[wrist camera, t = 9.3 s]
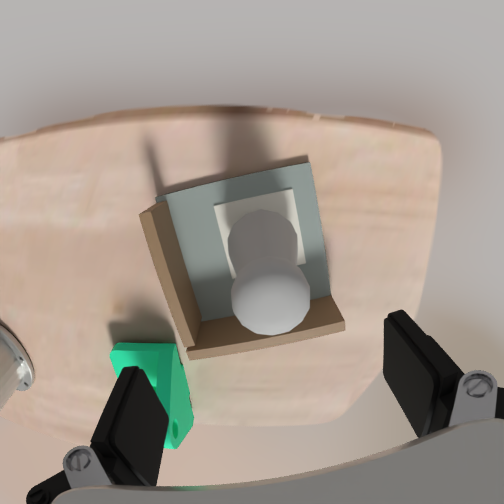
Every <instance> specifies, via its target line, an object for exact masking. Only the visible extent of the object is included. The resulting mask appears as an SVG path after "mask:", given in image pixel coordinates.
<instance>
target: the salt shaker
mask: <svg viewBox="0 0 504 504" xmlns="http://www.w3.org/2000/svg"><path fill="white" fill-rule="evenodd" d="M227 241H228V255H229V257H230V260H231V263H232V265H233V268H234V271H235V273H236V278H235V281H234V283H233V286H232V289H231V298H232V308H233V312H234V314H235V315H236V317H237V318H238V320H239V321H240V322H241V324H242V325H243V326H244V327H246V328H248V329H249V330H251V331H253V332H254V333H256V334H264V335H277V334H281V333H285V332H289V331H290V330H292V329H293V328H294V327H296V326H297V325H298V324H299V323H301V322H302V321H303V319H304V317H305V315H306V314H307V312H308V310H309V308H310V286H309V284H308V282H307V280H306V278H305V276H304V274H303V272H302V271H301V269H300V268H299V267H298V266H297V257H298V237H297V234H296V231H295V229H294V227H293V225H292V223H291V221H289V220H288V219H286V218H285V217H283V216H282V215H280V214H279V213H277V212H273V211H268V210H263V209H260V210H257V211H253V212H250V213H247V214H245V215H244V216H243V217H241V218H240V219H239V220H238V221H237V222H236V223H234V224H233V226H232V229H231V231H230V234H229V236H228V239H227Z"/></svg>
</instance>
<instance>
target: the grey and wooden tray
mask: <svg viewBox="0 0 504 504" xmlns="http://www.w3.org/2000/svg"><path fill="white" fill-rule="evenodd" d="M155 199H156V202H157V203H156V204H154V205H153V206H151V207H150V208H148V209H147V210H145V211H143V212H142V213H140V214H139V217H140V221H141V224H142V227H143V231H144V234H145V237H146V241H147V244H148V247H149V250H150V253H151V256H152V259H153V263H154V266H155V269H156V272H157V275H158V277H159V280H160V283H161V286H162V289H163V292H164V295H165V298H166V300H167V303H168V306H169V309H170V311H171V314H172V317H173V319H174V322H175V325H176V327H177V330H178V332H179V335H180V338H181V340H182V343H183V345H184V347H187V350H186V353H187V355H188V357H189V360H196V359H203V358H210V357H217V356H223V355H229V354H235V353H241V352H247V351H252V350H258V349H263V348H268V347H274V346H279V345H284V344H288V343H293V342H298V341H302V340H307V339H311V338H316V337H320V336H324V335H329V334H333V333H337V332H341V331H345V320H344V319H343V317H342V315H341V313H340V311H339V309H338V307H337V305H336V304H335V302H334V300H333V298H332V296H331V291H330V283H329V275H328V268H327V260H326V253H325V246H324V240H323V233H322V227H321V220H320V214H319V208H318V203H317V197H316V191H315V186H314V180H313V175H312V169H311V164H310V162H307V163H301V164H296V165H291V166H286V167H280V168H275V169H271V170H266V171H261V172H256V173H252V174H247V175H242V176H238V177H233V178H229V179H225V180H221V181H216V182H212V183H208V184H204V185H200V186H196V187H192V188H188V189H184V190H180V191H176V192H173V193H169V194H165V195H161V196H158V197H156V198H155ZM260 209H263V210H268V211H273V212H277V213H279V214H280V215H282V216H283V217H285V218H286V219H288V220H289V221H291V223H292V225H293V227H294V229H295V231H296V234H297V237H298V257H297V266H298V267H299V268H300V269H301V271H302V272H303V274H304V276H305V278H306V280H307V282H308V284H309V286H310V308H309V310H308V312H307V314H306V315H305V317H304V319H303V321H302V322H301V323H299V324H298V325H297V326H296V327H294V328H293V329H292V330H290V331H289V332H285V333H281V334H277V335H264V334H256V333H254V332H253V331H251V330H249V329H248V328H246V327H244V326H243V325H242V324H241V322H240V321H239V320H238V318H237V317H236V315H235V314H234V312H233V308H232V298H231V289H232V286H233V283H234V281H235V278H236V273H235V271H234V268H233V265H232V263H231V260H230V257H229V255H228V241H227V239H228V236H229V234H230V231H231V229H232V226H233V224H234V223H236V222H237V221H238V220H239V219H240V218H241V217H243V216H244V215H245V214H247V213H250V212H253V211H257V210H260Z"/></svg>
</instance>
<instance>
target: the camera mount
mask: <svg viewBox="0 0 504 504" xmlns="http://www.w3.org/2000/svg"><path fill="white" fill-rule="evenodd" d="M110 359H111V362H112V365H113V367H114V370H115V373H116V375H117V378H118V377H119V375H120V373H121V370H122V369H123V367H128V366H138V367H139V368H140V369H143V370H144V371H145V373H146V375H147V377H148V379H149V381H150V383H151V385H152V387H153V389H154V390H155V392H156V394H157V396H158V398H159V400H160V401H161V403H162V405H163V407H164V409H165V410H166V412H167V414H168V417H169V424H168V429H167V434H166V439H165V443H164V448H169V449H177V448H178V447H179V445H180V444H181V442H182V441H183V439H184V438H185V436H186V435H187V433H188V432H189V430H190V429H191V427H192V426H193V420H194V415H193V412H192V408H191V404H190V401H189V395H190V392H189V388H188V384H187V379H186V375H185V371H184V367H183V364H180V360H179V356H178V351H177V347H176V343H116V344H115V346H114V347H113V349H112V351H111V353H110Z"/></svg>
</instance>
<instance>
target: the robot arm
mask: <svg viewBox="0 0 504 504" xmlns="http://www.w3.org/2000/svg"><path fill="white" fill-rule="evenodd" d="M383 374H384V378H385V380H386V381H387V383H388V385H389V387H390V389H391V390H392V392H393V394H394V395H395V397H396V399H397V401H398V403H399V404H400V406H401V408H402V410H403V411H404V413H405V415H406V417H407V418H408V420H409V422H410V424H411V426H412V428H413V429H414V431H415V433H416V435H417V437H418V439H415V440H413V441H410V442H407V443H405V444H402V445H399V446H396V447H394V448H391V449H388V450H385V451H382V452H379V453H376V454H373V455H370V456H367V457H364V458H360V459H357V460H353V461H350V462H346V463H343V464H339V465H336V466H331V467H327V468H323V469H319V470H314V471H310V472H305V473H300V474H295V475H290V476H284V477H279V478H272V479H266V480H259V481H251V482H243V483H233V484H222V485H207V486H182V487H181V486H173V487H171V486H165V487H164V486H156V484H157V479H158V474H159V468H160V464H161V458H162V453H163V448H164V443H165V439H166V434H167V429H168V424H169V417H168V414H167V412H166V410H165V409H164V407H163V405H162V403H161V401H160V400H159V398H158V396H157V394H156V392H155V390H154V389H153V387H152V385H151V383H150V381H149V379H148V377H147V375H146V373H145V371H144V370H143V369H140V368H139V367H138V366H128V367H123V369H122V370H121V373H120V375H119V377H118V379H117V381H116V383H115V386H114V388H113V390H112V392H111V395H110V397H109V399H108V401H107V404H106V406H105V408H104V410H103V413H102V415H101V417H100V420H99V422H98V424H97V427H96V429H95V431H94V434H93V436H92V439H91V445H90V447H88V446H77V447H75V448H73V449H71V450H70V451H69V452H68V453H67V454H66V455H65V457H64V459H63V468H64V470H63V471H61V472H59V473H57V474H56V475H54V476H52V477H51V478H49V479H47V480H45V481H43V482H41V483H40V484H38V485H36V486H34V487H33V488H31V490H30V491H29V492H28V494H27V497H26V503H27V504H504V388H500V387H497V381H496V379H495V378H494V377H493V376H492V375H491V374H490V373H488V372H486V371H481V370H475V371H471V372H468V373H467V374H464V373H463V372H462V371H461V369H460V368H459V367H458V366H457V365H456V364H455V362H453V360H452V359H451V358H450V357H449V356H448V354H447V353H446V352H445V351H444V350H443V349H442V348H441V347H440V346H439V345H438V343H437V342H436V341H435V340H434V339H433V338H432V337H431V336H429V335H426V334H425V333H424V332H423V331H422V330H421V328H420V327H419V326H418V325H417V324H416V323H415V322H414V321H413V320H412V319H411V318H410V316H409V315H408V314H407V313H406V312H405V311H404V310H398V311H395V312H392V313H389V314H388V318H385V319H384V359H383ZM34 378H35V377H34V370H33V366H32V364H31V361H30V359H29V357H28V355H27V354H26V352H25V350H24V349H23V347H22V346H21V345H20V343H19V342H18V341H17V340H16V338H15V337H14V336H13V335H12V334H11V333H10V332H9V331H7V330H6V329H5V328H4V327H2V326H1V325H0V411H1V409H2V408H3V406H4V405H5V404H6V402H7V401H8V400H9V398H10V397H11V396H12V394H13V393H14V392H15V390H19V391H26V390H28V389H29V388H30V387H31V386H32V384H33V382H34Z"/></svg>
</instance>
